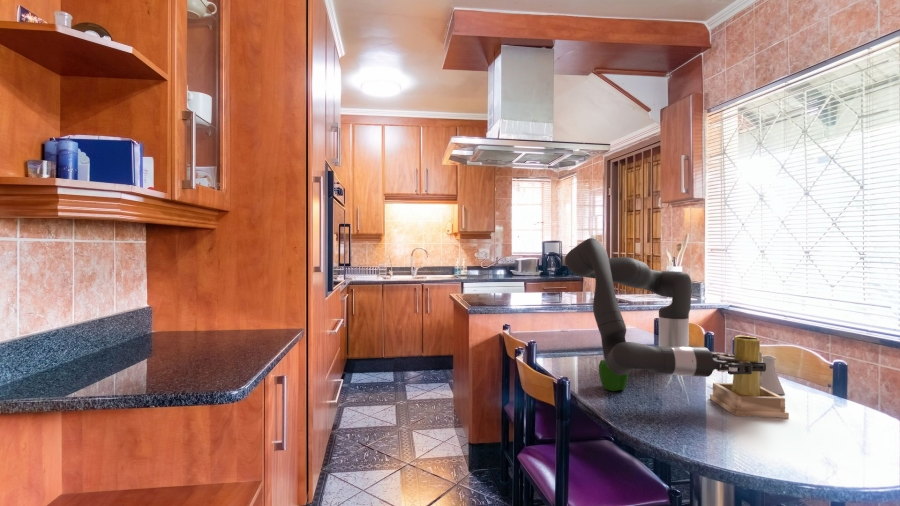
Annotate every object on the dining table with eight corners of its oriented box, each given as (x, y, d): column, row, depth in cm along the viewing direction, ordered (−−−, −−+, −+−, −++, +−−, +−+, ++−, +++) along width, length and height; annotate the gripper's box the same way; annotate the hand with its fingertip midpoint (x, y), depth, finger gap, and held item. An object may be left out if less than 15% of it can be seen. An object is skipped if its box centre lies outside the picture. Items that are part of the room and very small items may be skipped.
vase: (734, 387, 111) (735, 334, 110) (762, 393, 106) (764, 338, 106) (728, 392, 106) (730, 337, 106) (758, 399, 102) (759, 341, 102)
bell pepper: (615, 383, 126) (615, 350, 126) (634, 391, 118) (634, 357, 118) (591, 386, 124) (591, 352, 124) (610, 395, 116) (610, 359, 116)
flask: (790, 396, 115) (790, 360, 115) (761, 394, 116) (761, 359, 116) (775, 388, 122) (775, 354, 122) (748, 386, 123) (747, 353, 123)
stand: (708, 398, 113) (709, 350, 113) (758, 399, 112) (758, 351, 112) (735, 416, 101) (736, 362, 101) (792, 418, 100) (792, 363, 100)
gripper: (702, 353, 100) (776, 356, 99) (675, 340, 115) (740, 342, 113) (701, 384, 100) (776, 387, 99) (675, 367, 115) (740, 370, 113)
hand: (756, 363), depth 106 cm, fingers closed on vase, 5 cm apart
